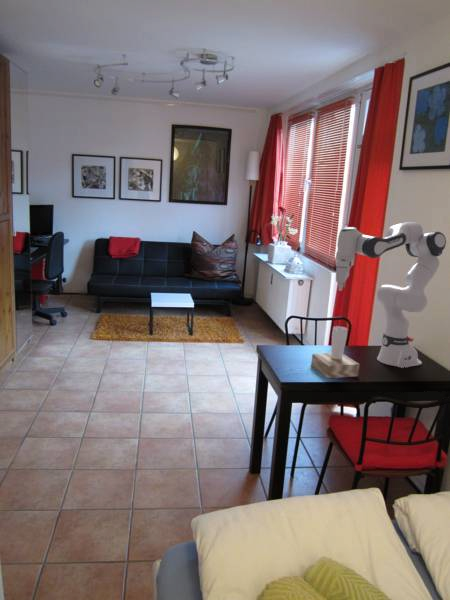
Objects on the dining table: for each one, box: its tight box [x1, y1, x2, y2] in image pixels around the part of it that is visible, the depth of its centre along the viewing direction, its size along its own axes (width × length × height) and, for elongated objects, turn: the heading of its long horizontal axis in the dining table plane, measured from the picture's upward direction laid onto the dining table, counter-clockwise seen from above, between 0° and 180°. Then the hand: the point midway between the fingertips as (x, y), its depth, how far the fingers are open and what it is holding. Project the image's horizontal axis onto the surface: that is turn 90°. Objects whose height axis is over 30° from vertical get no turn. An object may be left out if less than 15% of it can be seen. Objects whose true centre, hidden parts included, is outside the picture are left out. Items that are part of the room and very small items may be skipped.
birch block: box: [310, 352, 360, 379], centre depth 242 cm, size 16×16×6 cm
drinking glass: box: [330, 325, 348, 360], centre depth 240 cm, size 7×7×15 cm
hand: (341, 288), depth 249 cm, fingers open, 8 cm apart
